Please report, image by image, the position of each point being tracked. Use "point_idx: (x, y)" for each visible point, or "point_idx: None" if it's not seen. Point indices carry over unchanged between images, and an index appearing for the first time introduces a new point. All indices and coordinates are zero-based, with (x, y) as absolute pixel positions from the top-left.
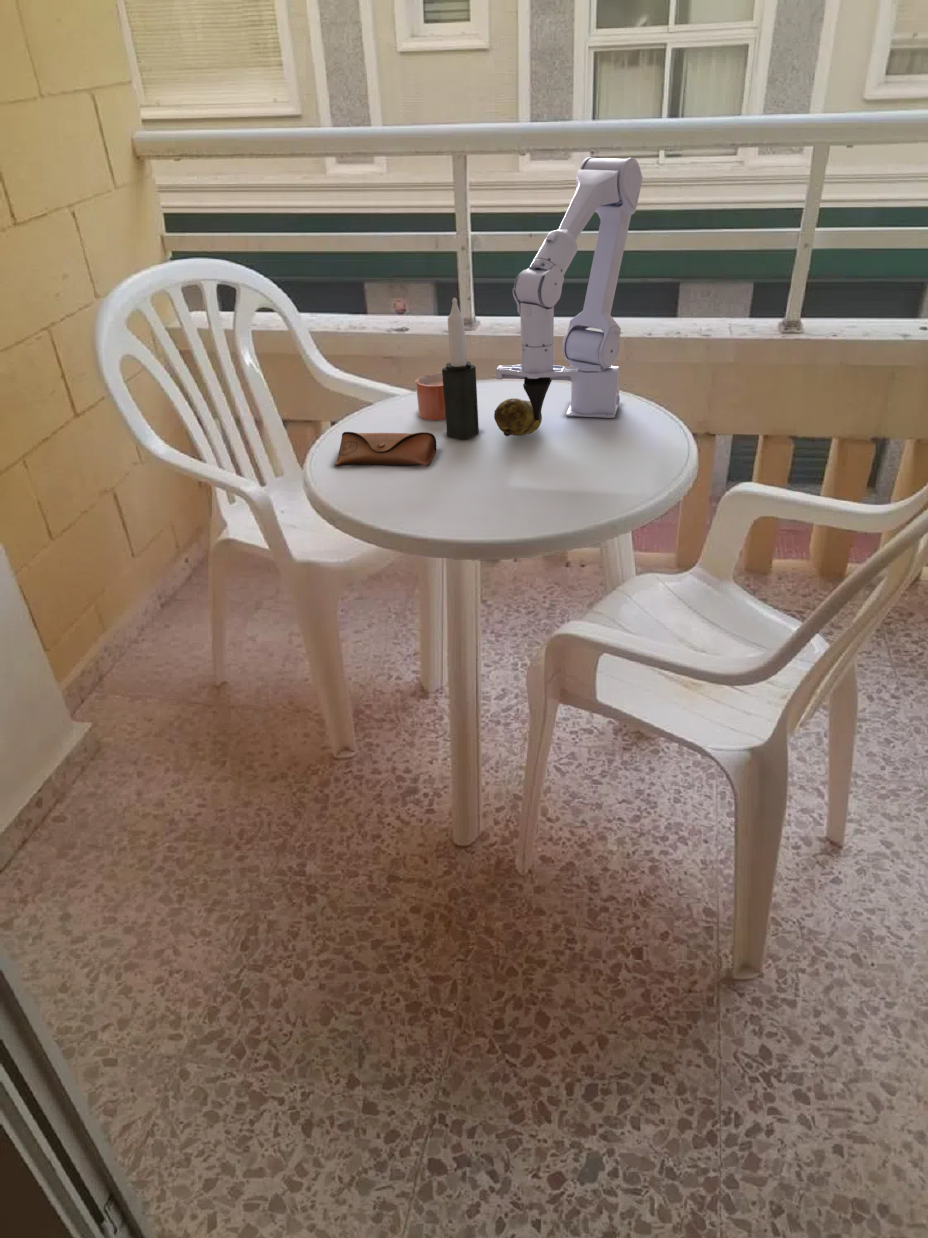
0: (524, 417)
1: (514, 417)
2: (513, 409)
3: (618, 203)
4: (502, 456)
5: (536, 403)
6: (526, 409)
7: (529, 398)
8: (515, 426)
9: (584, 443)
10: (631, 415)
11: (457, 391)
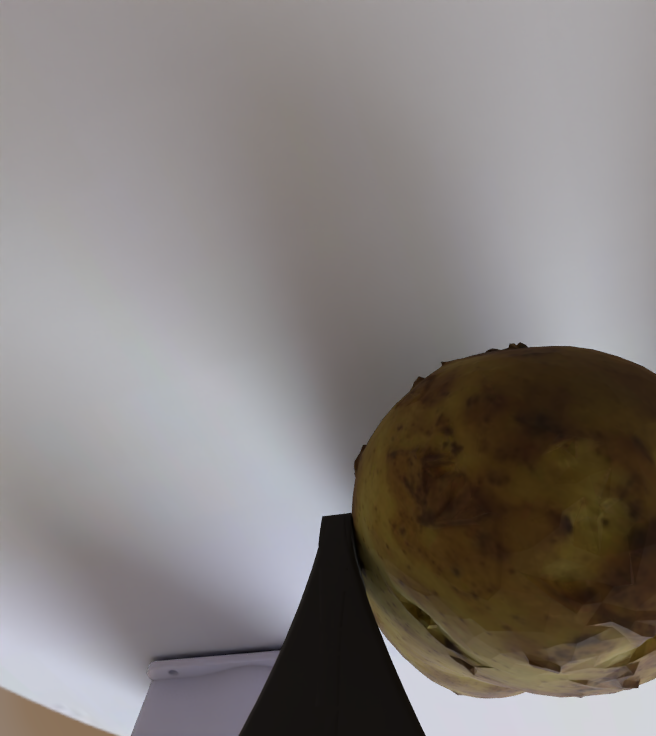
0: (399, 462)
1: (492, 405)
2: (548, 498)
3: None
4: (466, 165)
5: (324, 647)
6: (411, 559)
7: (406, 706)
8: (454, 366)
9: (115, 464)
10: (115, 683)
11: None
